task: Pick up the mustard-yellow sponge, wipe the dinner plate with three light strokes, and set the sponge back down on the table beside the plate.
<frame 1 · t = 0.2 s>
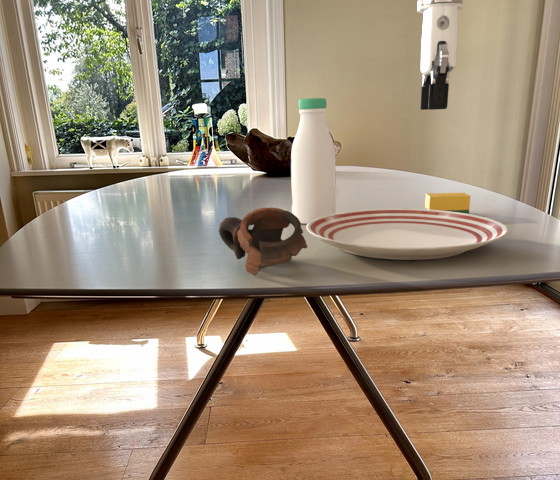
hand: (432, 109, 109), 18 cm above the table, tool pointing down, fingers open, 9 cm apart
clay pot: (262, 268, 76), on the table
milk bottle: (313, 222, 107), on the table
sponge: (446, 214, 108), on the table
dinner plate: (402, 247, 85), on the table
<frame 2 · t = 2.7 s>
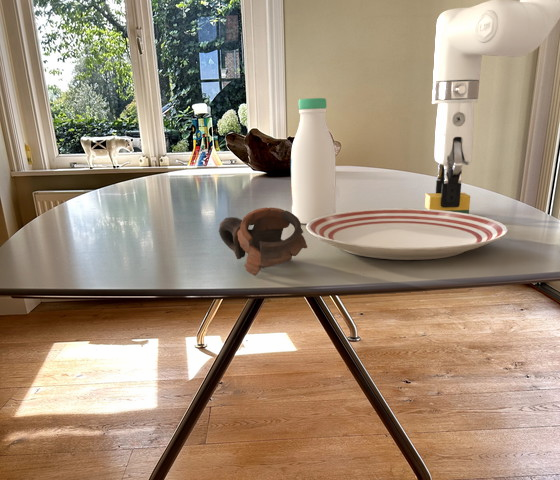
hand: (446, 203, 108), 2 cm above the table, tool pointing down, fingers closed on sponge, 5 cm apart
sponge: (446, 214, 108), on the table, touching gripper
everything else where it was.
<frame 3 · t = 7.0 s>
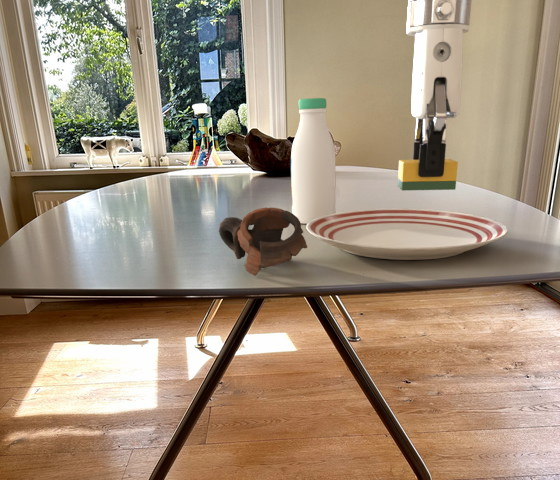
hand: (427, 173, 81), 10 cm above the table, tool pointing down, fingers closed on sponge, 5 cm apart
sponge: (425, 187, 81), point 8 cm above the table, touching gripper
everything else where it was.
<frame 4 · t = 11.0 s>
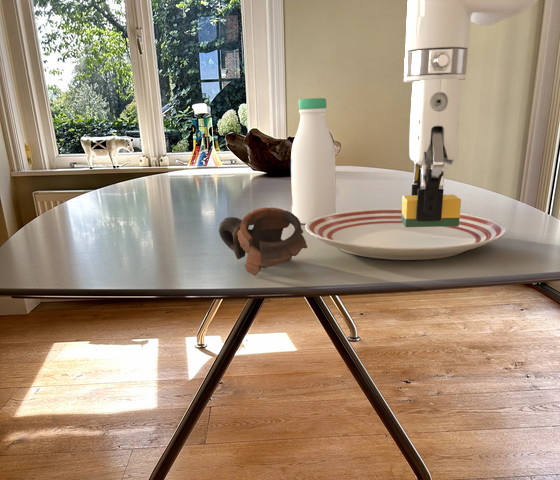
hand: (425, 215, 81), 4 cm above the table, tool pointing down, fingers closed on sponge, 5 cm apart
sponge: (429, 223, 82), point 3 cm above the table, touching gripper
everything else where it was.
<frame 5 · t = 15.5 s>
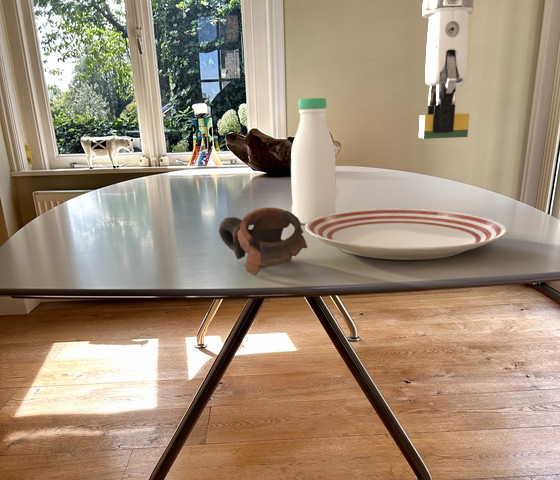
hand: (439, 130, 98), 14 cm above the table, tool pointing down, fingers closed on sponge, 5 cm apart
sponge: (442, 137, 99), point 13 cm above the table, touching gripper
everything else where it was.
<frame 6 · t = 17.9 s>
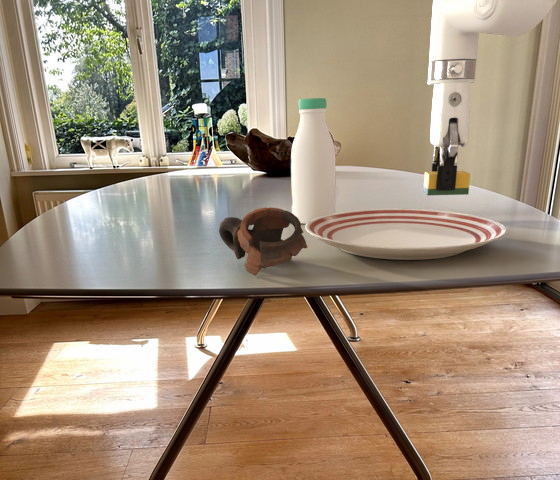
hand: (442, 187, 106), 5 cm above the table, tool pointing down, fingers closed on sponge, 5 cm apart
sponge: (445, 193, 106), point 4 cm above the table, touching gripper
everything else where it was.
when the fingers open (1 cm above the table, at t = 19.4 s): sponge stays where it is, on the table.
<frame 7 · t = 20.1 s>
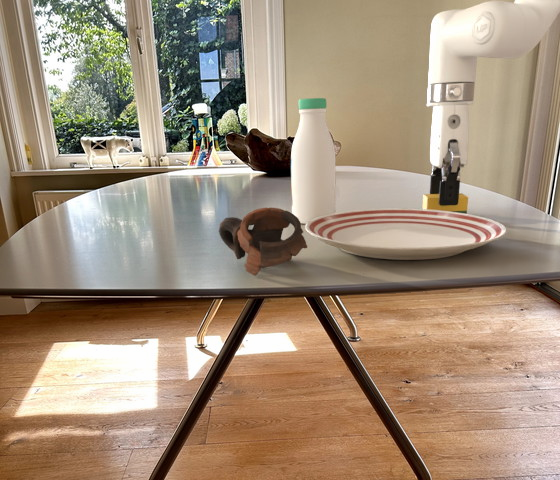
hand: (443, 201, 107), 3 cm above the table, tool pointing down, fingers open, 9 cm apart
sponge: (443, 215, 108), on the table
everything else where it was.
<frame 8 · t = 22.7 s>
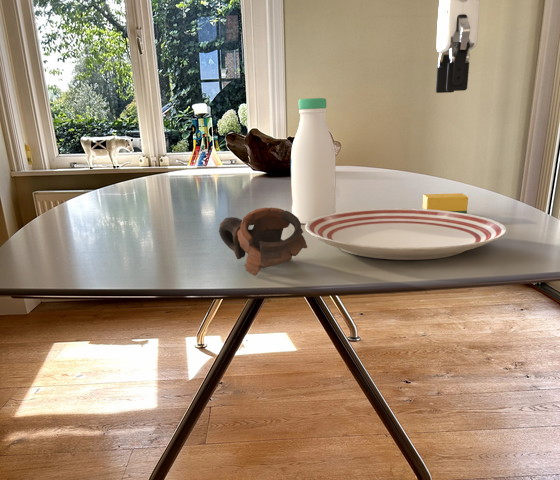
hand: (450, 91, 100), 20 cm above the table, tool pointing down, fingers open, 9 cm apart
nothing on the table moved.
at the end: sponge inside the target area (0.4 cm from its centre), on the table; the gripper is holding nothing; dinner plate moved 0.3 cm from its start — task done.
